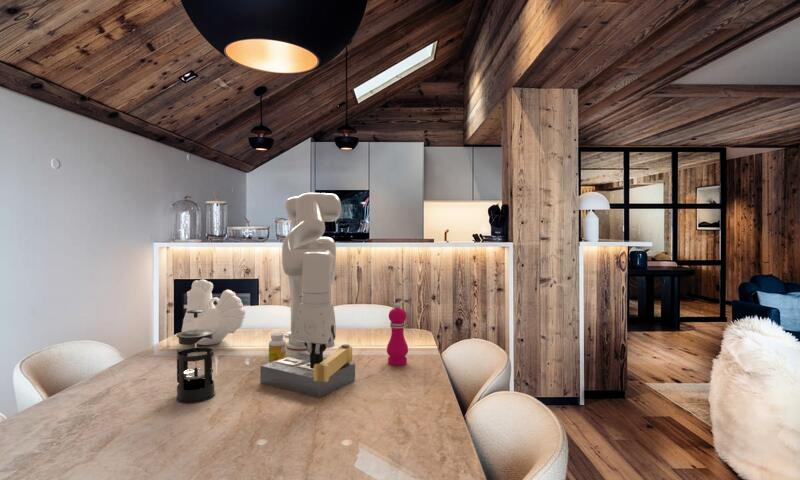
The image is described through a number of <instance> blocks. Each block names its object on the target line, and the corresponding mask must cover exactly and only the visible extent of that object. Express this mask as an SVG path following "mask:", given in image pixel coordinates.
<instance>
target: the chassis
mask: <svg viewBox="0 0 800 480" xmlns="http://www.w3.org/2000/svg"><path fill="white" fill-rule="evenodd" d="M326 358H327V357H325V356H323V360H325V359H326ZM259 372H260V377H259V378H260V380H259V381H260V384H263V385H267V386H271V387H274V388H279V389H283V390H285V391H291V392H294V393H298V394H301V395H306V396H309V397H313V398H317V399H320V398H322V397H324V396H326V395H328V394H330V393H332V392H335V391H336V390H338V389H340V388H342V387H344V386H346V385H348V384H350V383H353V382H354V381H356V363H354V362H350V363H349V364H345V365H343V366H342V367H341V368H340V369H339V370H337V371H336V372H335V373H334V374H333V375H331V376H330V377H329V381H328V382H322V381H314V368H313V369H311V368H310V353H304V352H297V353H294V354H291V355H288V356H286V357H285V358H282V359H279V360H276V361H273V362H270V363H269V362H267V363H265V364H261V365H260V371H259Z"/></svg>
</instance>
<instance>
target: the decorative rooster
mask: <svg viewBox="0 0 800 480" xmlns="http://www.w3.org/2000/svg"><path fill="white" fill-rule="evenodd" d="M213 289H214V284H213V282H211V281H208V280H206V279H204V278H203V279H198V280H194V281H193V282H192V284H191V289H189V290H188V291H187V292H186V296H187V299H186V302H187V304H186V305H187V307H186V312H185V314H184V318H183V319H182V327H181V332H184V331H190V330H195V318H194V313H187V311H190V310H196V309H200V310H204V312H201V313H198V317H197V318H196V330H201V329H205V330H213V331H214V334H212V339H210V338H202V339H200V340H199V341H198V342H197V345H201V346H211V345H216V344H218V343H221V342H222V341H223V340H224V339H225V338H226V337H227V336H228V335H229V334H234V333H235V332H236V331H237V330H239V329H240V328H242V325H243V322H244V319H245V317H246V315H245V314H246V310H245V308H243V306H244V305H243V302H242V299H241V298H240V297H239V296H237V295H236V292H235V291H232V290H231V289H226V290H223V291H222V293H221V295H220V297H217V296H216V297H213V293H212V291H213ZM214 302H216V306H215V304H214Z"/></svg>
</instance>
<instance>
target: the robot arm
mask: <svg viewBox="0 0 800 480" xmlns="http://www.w3.org/2000/svg"><path fill="white" fill-rule="evenodd" d="M285 209H286V213H287V216H288V218H289V220H290V221H291V226H292V229H291V230H289V232H288V233H287V235H286V236H285V238H284V240H283V243H282V247H281V262H282V263H281V264H282V270H283V272H284V274H285V275H286V276H288V284H289V292H290V293H289V295H290V331H288V332H287V333H286V334H284V338H285V339H288V341H287V342H286V348H288V349H290V350H307V352H308V354H310V368H311V369H313V368H314V365H315V364H319V363H321V362H322V361H323V357H324V352H326V350H327V349H330V348H333V347H335V340H336V335H337V334H336V333H337V329H336V328H337V326H336V325H337V323H336V316H335V309H334V308H335V307H334V304H333V303H332V286H333V285H334V283H335V280H336V279H335V278H336V277H335V276H336V263H337V261H336V259H337V258H336V257H337V249H336V248H337V247H336V246H337V245H336V242H335V240H334V239H333V238H332V237H329V236H323V235H324V233H325V231H326V225H325V224H326V222H329V223H330V222H335V221H337V220H339V219H340V217H341V214H342V203H341V199H340V197H339V196H338V195H337V194H336V193H328V192H327V193H326V192H321V193H320V192H305V193H302V194H301V195H299V196H293V197H289V198H287V199H286V201H285Z"/></svg>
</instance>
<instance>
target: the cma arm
mask: <svg viewBox="0 0 800 480" xmlns="http://www.w3.org/2000/svg"><path fill="white" fill-rule="evenodd" d="M325 358H326V359H325V360H323V361H322V362H321V363H319V364H315V365H314V381H322V382H328V381H329V377H330V376H331V375H333V374H334V373H335V372H336V371H337V370H339V369H340V368H341V367H342V366H343V365H345V364H349V363H353V346H352V345H350V344H346V343H345V344H341V345H339V346H338V349H337V350H336V351H334V352H333V353H332V354H331V355H329V356H327V357H325Z"/></svg>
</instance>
